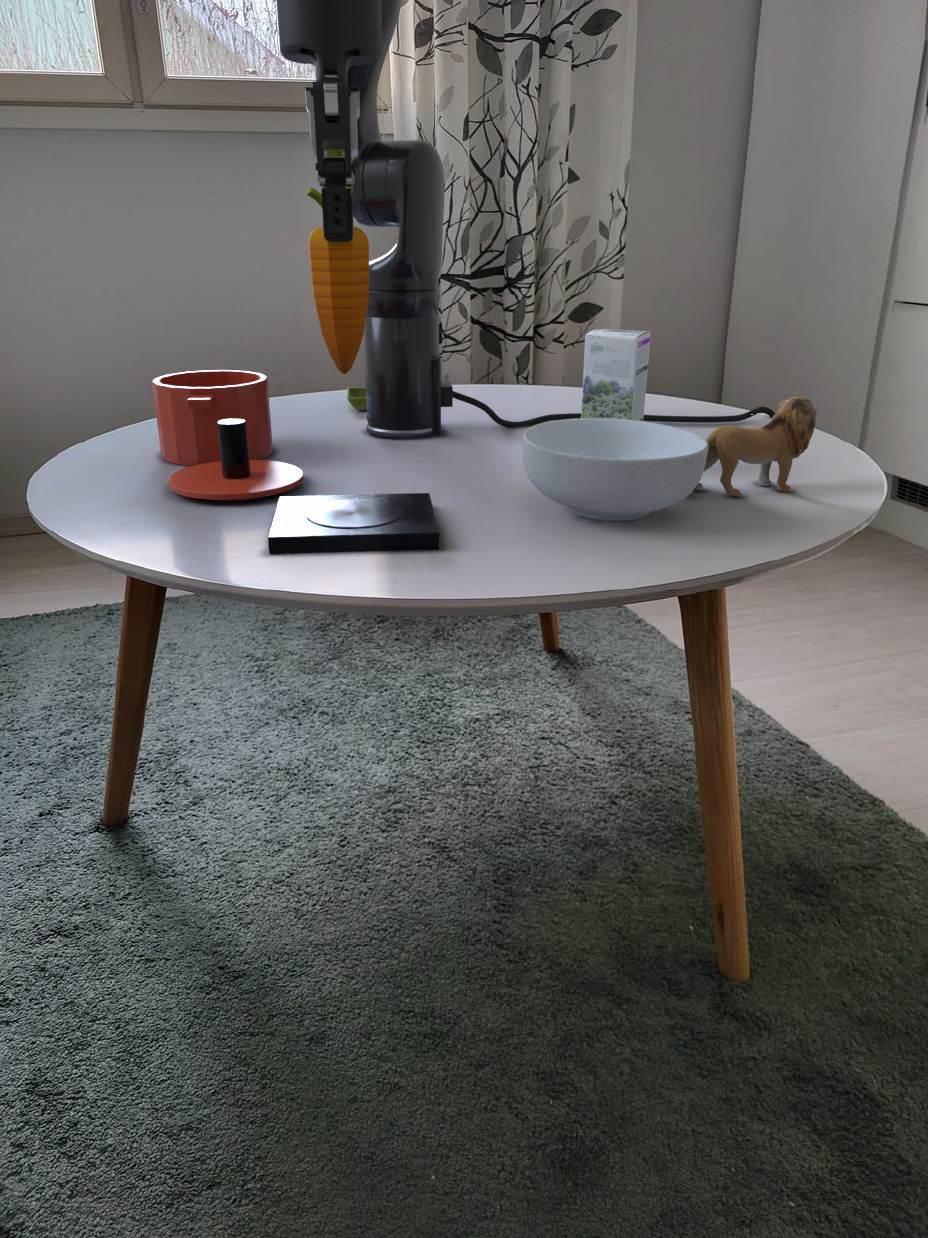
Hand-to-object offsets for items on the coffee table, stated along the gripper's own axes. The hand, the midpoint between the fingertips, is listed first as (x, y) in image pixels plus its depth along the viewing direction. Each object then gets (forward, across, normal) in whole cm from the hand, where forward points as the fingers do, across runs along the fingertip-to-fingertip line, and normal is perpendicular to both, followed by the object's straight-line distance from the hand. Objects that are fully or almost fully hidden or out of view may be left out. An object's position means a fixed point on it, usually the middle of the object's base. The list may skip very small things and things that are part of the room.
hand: (339, 239), depth 73 cm
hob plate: (+24, 0, 0) cm, 24 cm away
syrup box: (+24, +20, -28) cm, 42 cm away
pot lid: (+23, +14, +12) cm, 30 cm away
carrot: (+11, 0, 0) cm, 11 cm away
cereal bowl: (+24, +4, -24) cm, 34 cm away
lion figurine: (+24, +10, -40) cm, 48 cm away
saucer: (+24, +57, -3) cm, 62 cm away
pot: (+24, +30, +16) cm, 41 cm away
